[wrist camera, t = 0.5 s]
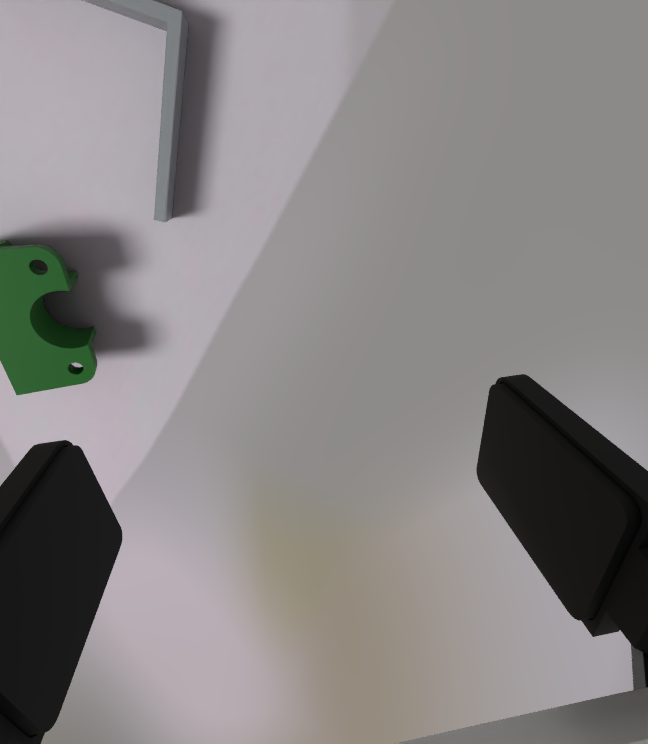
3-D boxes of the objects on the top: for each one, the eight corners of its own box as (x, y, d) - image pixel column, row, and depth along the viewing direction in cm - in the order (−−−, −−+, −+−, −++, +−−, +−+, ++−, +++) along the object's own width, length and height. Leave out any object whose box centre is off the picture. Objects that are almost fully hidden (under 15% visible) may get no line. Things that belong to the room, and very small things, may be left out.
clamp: (102, 323, 39) (105, 392, 34) (34, 333, 37) (26, 407, 32) (56, 212, 30) (50, 283, 25) (-38, 216, 28) (-64, 295, 23)
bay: (171, 218, 32) (152, 229, 26) (-89, 153, 27) (-181, 149, 22) (188, 24, 26) (168, -16, 20) (-133, -97, 22) (-272, -189, 16)
